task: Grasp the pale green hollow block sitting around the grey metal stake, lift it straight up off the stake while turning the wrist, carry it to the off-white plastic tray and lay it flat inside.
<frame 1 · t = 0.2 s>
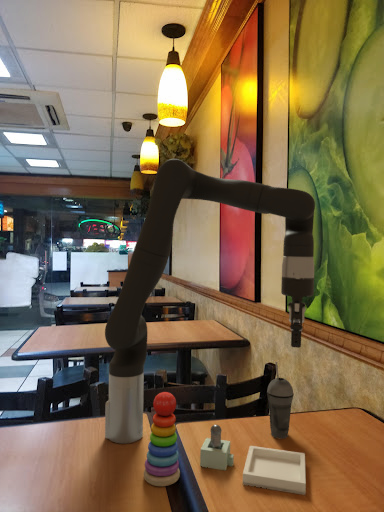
hand: (296, 343, 96), 28 cm above the table, fingers open, 8 cm apart
stacking toy: (161, 478, 88), on the table
beverage cup: (279, 435, 109), on the table
tray: (275, 473, 90), on the table
pale green hollow block: (215, 461, 95), on the table
stake: (215, 461, 95), on the table
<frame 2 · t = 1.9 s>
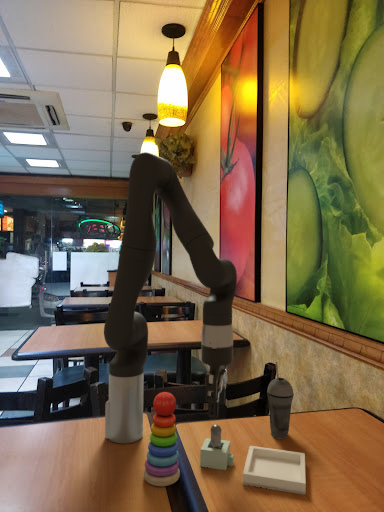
hand: (216, 410, 95), 12 cm above the table, fingers open, 8 cm apart
nothing on the table moved.
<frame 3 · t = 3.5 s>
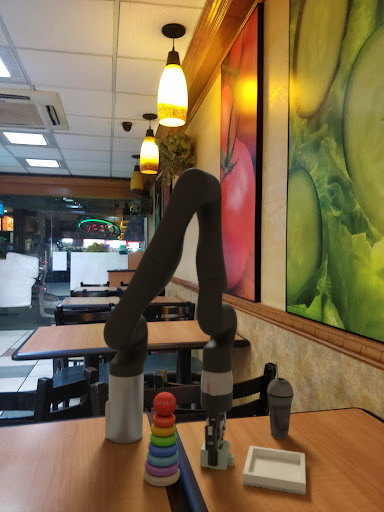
hand: (215, 458, 95), 1 cm above the table, fingers closed on pale green hollow block, 6 cm apart
pale green hollow block: (215, 461, 95), on the table, touching gripper
everything else where it was.
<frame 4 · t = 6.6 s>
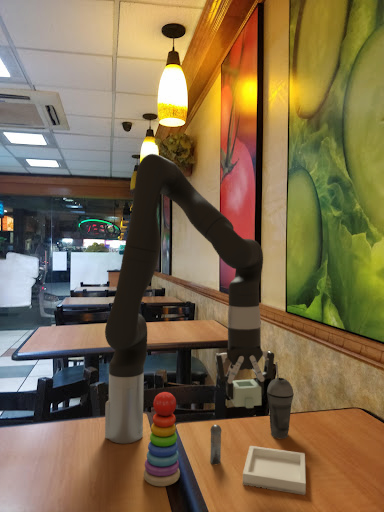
hand: (244, 397, 92), 16 cm above the table, fingers closed on pale green hollow block, 6 cm apart
pale green hollow block: (244, 401, 92), point 16 cm above the table, touching gripper
everything else where it was.
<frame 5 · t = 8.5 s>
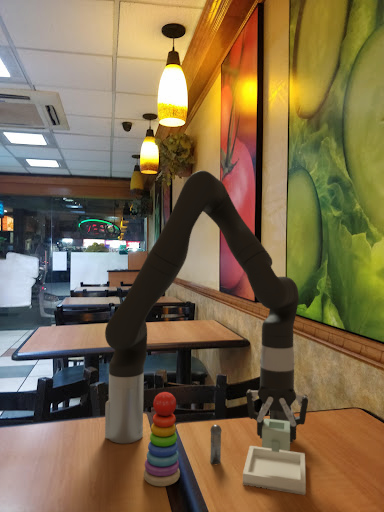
hand: (276, 438, 90), 8 cm above the table, fingers closed on pale green hollow block, 6 cm apart
pale green hollow block: (276, 442, 90), point 7 cm above the table, touching gripper
everything else where it was.
when the fingers open (3 cm above the table, at t = 9.9 s): pale green hollow block drops 1 cm, resting on tray.
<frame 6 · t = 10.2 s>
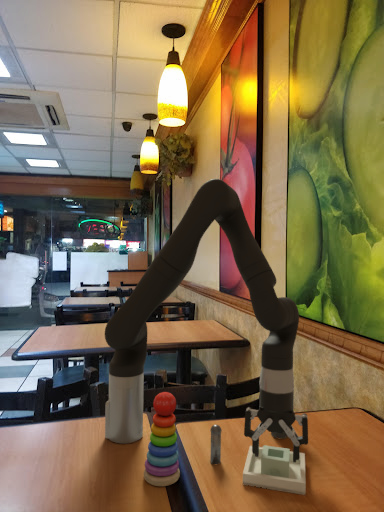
hand: (275, 457, 90), 4 cm above the table, fingers open, 8 cm apart
pale green hollow block: (275, 470, 90), point 1 cm above the table, touching tray
everything else where it was.
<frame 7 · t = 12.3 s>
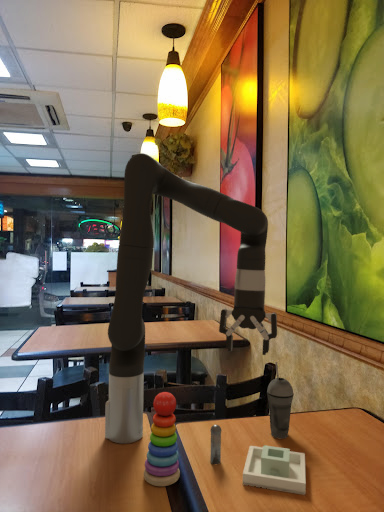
hand: (246, 352, 100), 25 cm above the table, fingers open, 8 cm apart
nothing on the table moved.
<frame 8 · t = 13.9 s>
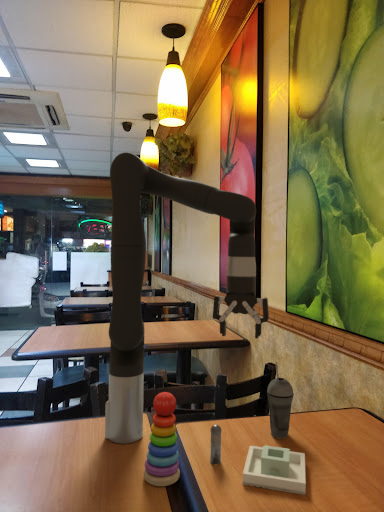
hand: (240, 336, 103), 28 cm above the table, fingers open, 8 cm apart
nothing on the table moved.
at the end: pale green hollow block inside the target area on the tray (0.1 cm from its centre), point 0.6 cm above the tray's base; pale green hollow block tilted 0°; the gripper is holding nothing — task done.
